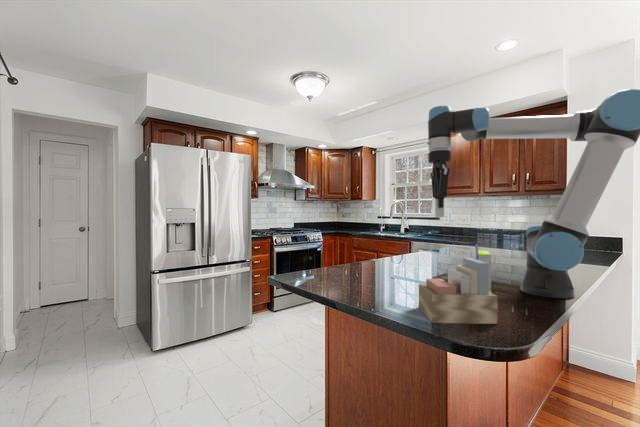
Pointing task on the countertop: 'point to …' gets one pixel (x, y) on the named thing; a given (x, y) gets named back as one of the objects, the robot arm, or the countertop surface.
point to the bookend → (459, 281)
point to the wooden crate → (458, 307)
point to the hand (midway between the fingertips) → (439, 217)
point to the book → (440, 286)
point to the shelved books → (476, 275)
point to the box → (486, 258)
